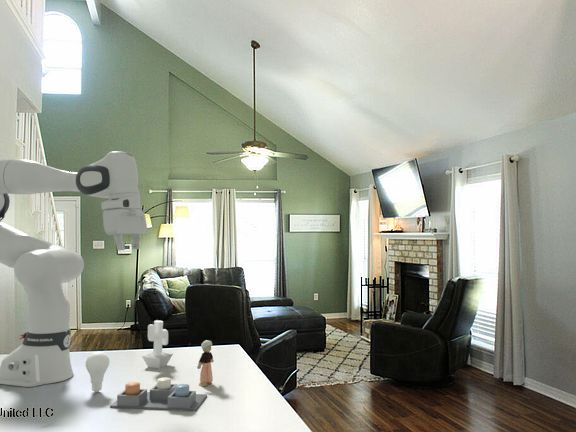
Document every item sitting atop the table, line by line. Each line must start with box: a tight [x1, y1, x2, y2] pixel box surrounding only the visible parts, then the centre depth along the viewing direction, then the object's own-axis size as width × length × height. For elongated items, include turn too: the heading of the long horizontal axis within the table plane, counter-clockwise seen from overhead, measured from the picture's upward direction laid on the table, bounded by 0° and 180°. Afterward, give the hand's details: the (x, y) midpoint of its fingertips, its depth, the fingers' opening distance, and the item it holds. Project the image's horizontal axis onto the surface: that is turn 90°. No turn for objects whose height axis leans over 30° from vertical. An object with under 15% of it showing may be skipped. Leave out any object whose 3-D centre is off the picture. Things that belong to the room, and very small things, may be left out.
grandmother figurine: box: [196, 339, 214, 387], centre depth 138 cm, size 8×4×13 cm, turn 168°
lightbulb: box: [85, 351, 110, 393], centre depth 130 cm, size 6×6×11 cm
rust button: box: [124, 381, 141, 395], centre depth 120 cm, size 4×4×3 cm
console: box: [109, 383, 208, 412], centre depth 122 cm, size 22×11×3 cm, turn 86°
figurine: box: [141, 319, 174, 369], centre depth 157 cm, size 7×9×15 cm
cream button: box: [156, 376, 172, 390], centre depth 125 cm, size 4×4×3 cm
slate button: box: [175, 383, 190, 397], centre depth 119 cm, size 4×4×3 cm
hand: (129, 249), depth 142 cm, fingers open, 8 cm apart
